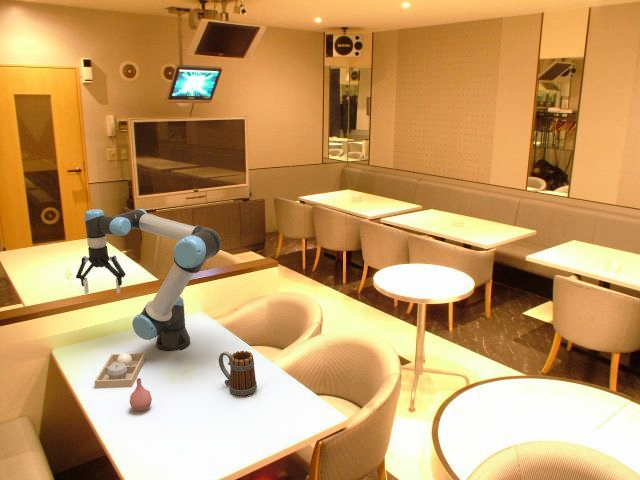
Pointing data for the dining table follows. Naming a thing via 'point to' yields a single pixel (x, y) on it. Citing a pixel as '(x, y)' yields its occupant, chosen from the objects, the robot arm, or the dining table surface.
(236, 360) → the mug
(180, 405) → the dining table surface
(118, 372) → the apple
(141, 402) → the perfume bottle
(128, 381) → the wooden compartment tray
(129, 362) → the egg
